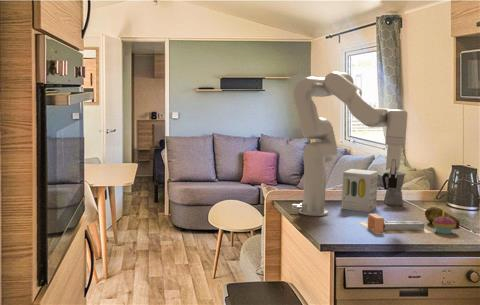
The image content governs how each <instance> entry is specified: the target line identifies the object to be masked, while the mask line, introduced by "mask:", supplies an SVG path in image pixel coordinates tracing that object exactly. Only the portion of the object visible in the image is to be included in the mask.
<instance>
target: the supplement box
mask: <svg viewBox="0 0 480 305" xmlns="http://www.w3.org/2000/svg"><path fill="white" fill-rule="evenodd" d="M378 178H379V171H378V170H368V169H367V170H366V169H359V168H358V169H356V168H350V169H347V170H345V171H343V172H342V190H341V208H340V209H341V210H347V211H348V210H349V211H355V212H364V213H367V212H371V211H373V210H374V209H376V208H377V197H378V196H377V194H378Z"/></svg>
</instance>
